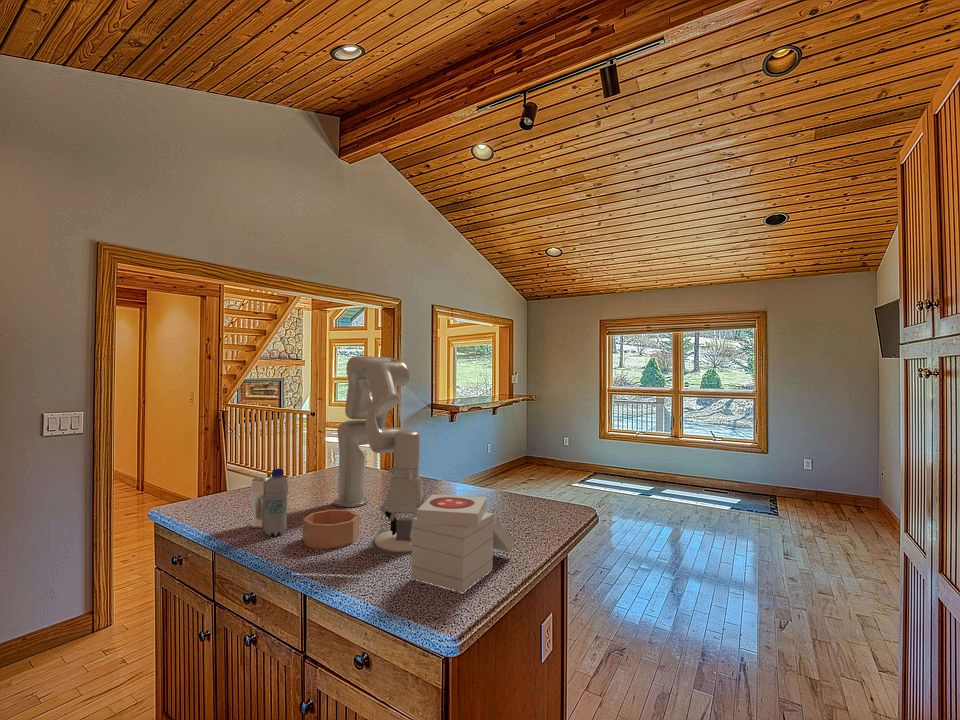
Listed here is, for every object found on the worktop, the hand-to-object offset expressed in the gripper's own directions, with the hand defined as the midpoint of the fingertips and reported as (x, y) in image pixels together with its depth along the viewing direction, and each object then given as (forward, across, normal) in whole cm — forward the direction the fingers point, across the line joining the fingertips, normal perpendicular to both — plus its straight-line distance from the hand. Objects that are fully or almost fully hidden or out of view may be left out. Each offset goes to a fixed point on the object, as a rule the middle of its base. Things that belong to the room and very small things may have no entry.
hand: (404, 533), depth 140 cm
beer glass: (+3, -49, +11) cm, 50 cm away
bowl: (+3, -22, 0) cm, 22 cm away
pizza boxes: (+3, +19, -15) cm, 25 cm away
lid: (+2, 0, 0) cm, 2 cm away
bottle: (+3, -41, +4) cm, 41 cm away
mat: (+3, 0, 0) cm, 3 cm away
